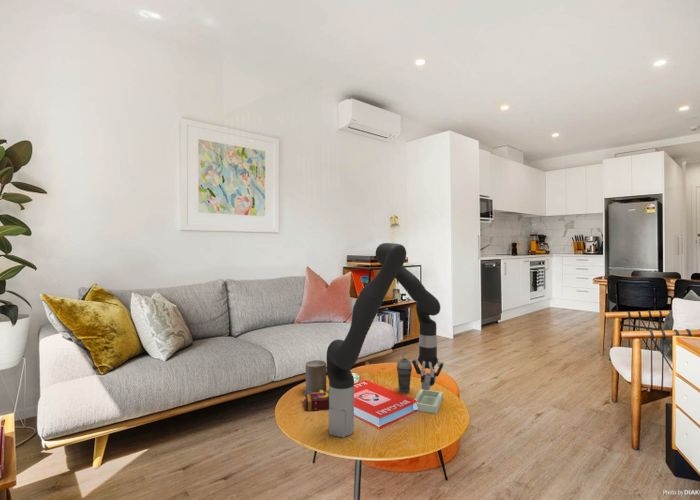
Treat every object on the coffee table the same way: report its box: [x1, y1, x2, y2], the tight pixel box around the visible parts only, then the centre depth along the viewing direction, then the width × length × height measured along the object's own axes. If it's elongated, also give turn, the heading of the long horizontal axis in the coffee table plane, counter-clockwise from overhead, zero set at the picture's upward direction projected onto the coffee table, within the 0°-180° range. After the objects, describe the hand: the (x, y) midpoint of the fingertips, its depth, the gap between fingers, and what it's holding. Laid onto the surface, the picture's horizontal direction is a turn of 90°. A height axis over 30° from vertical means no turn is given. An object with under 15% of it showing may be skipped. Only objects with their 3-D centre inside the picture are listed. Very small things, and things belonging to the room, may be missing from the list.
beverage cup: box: [396, 348, 413, 395], centre depth 182 cm, size 7×7×20 cm
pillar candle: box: [305, 359, 327, 391], centre depth 181 cm, size 10×10×15 cm
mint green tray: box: [413, 388, 444, 415], centre depth 168 cm, size 17×10×3 cm, turn 158°
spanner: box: [421, 372, 437, 390], centre depth 168 cm, size 13×4×3 cm, turn 158°
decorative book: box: [302, 389, 329, 412], centre depth 167 cm, size 11×16×5 cm
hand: (427, 384), depth 167 cm, fingers closed on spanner, 3 cm apart
